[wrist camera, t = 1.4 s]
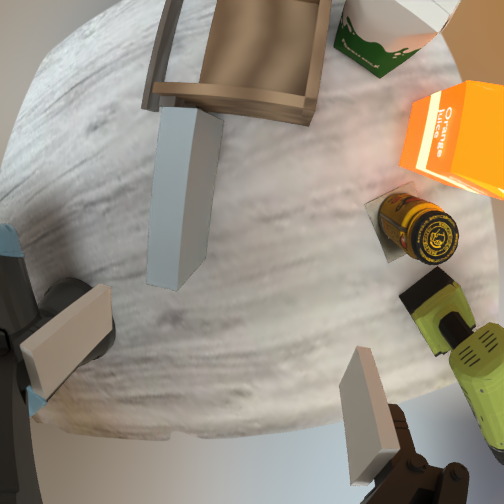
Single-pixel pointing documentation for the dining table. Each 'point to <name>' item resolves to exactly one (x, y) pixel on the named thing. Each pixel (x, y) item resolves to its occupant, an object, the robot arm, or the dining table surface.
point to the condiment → (413, 226)
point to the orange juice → (459, 138)
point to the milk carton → (390, 30)
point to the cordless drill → (463, 349)
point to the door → (182, 194)
